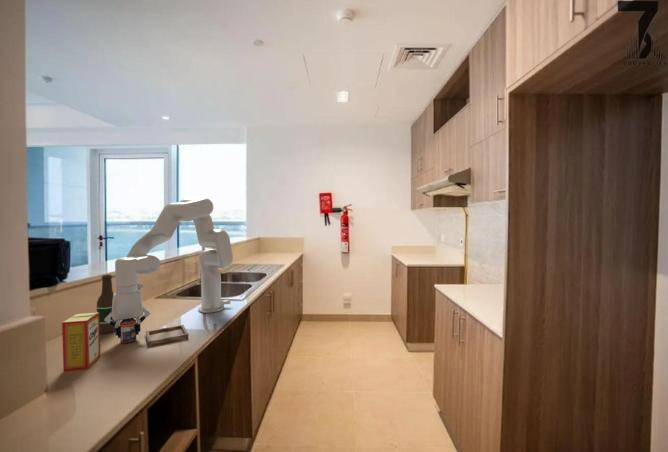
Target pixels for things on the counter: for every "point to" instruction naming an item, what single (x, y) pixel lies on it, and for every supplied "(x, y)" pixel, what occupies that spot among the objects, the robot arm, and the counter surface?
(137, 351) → the counter surface
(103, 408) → the counter surface
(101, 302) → the beer bottle
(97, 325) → the baking soda box
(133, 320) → the supplement bottle
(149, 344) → the walnut tray
